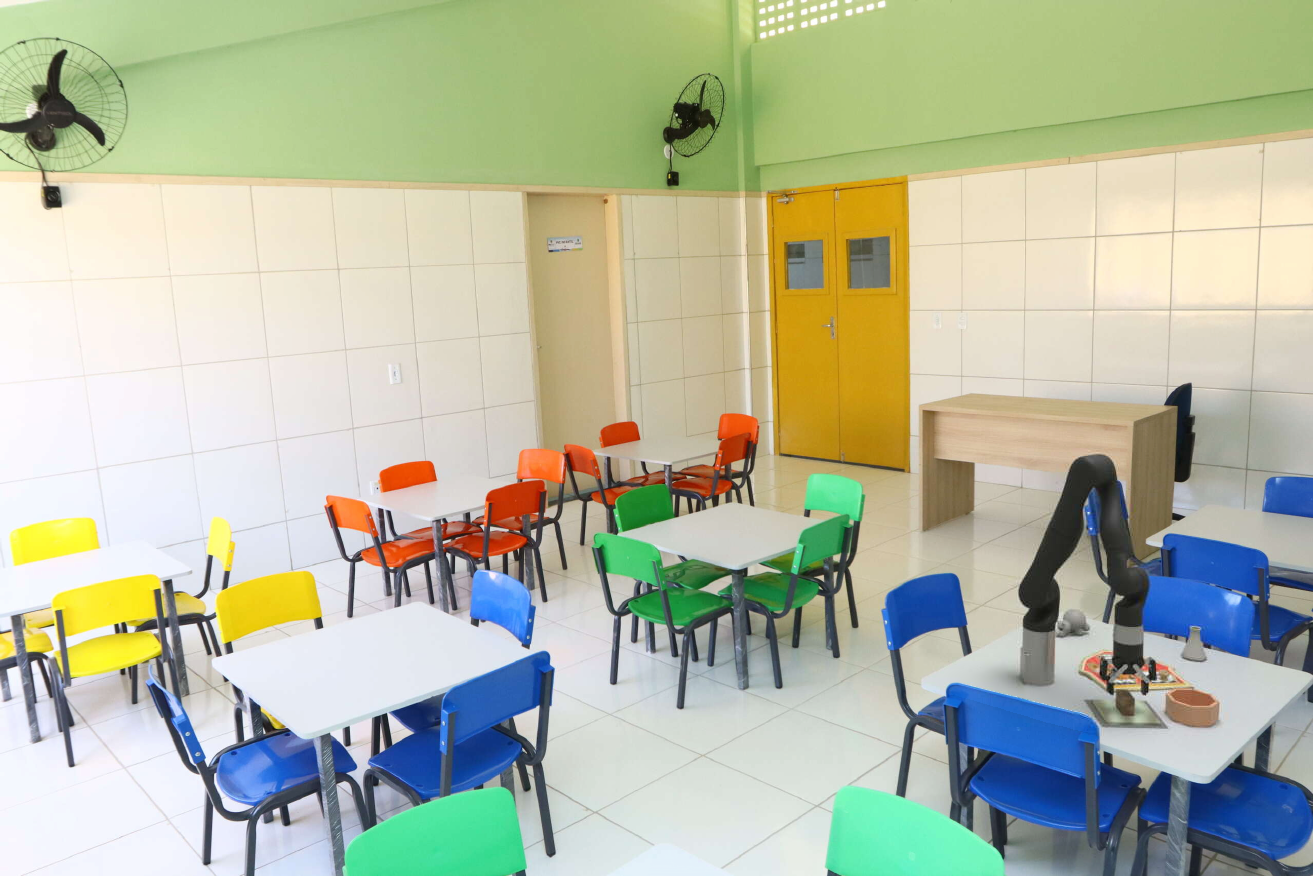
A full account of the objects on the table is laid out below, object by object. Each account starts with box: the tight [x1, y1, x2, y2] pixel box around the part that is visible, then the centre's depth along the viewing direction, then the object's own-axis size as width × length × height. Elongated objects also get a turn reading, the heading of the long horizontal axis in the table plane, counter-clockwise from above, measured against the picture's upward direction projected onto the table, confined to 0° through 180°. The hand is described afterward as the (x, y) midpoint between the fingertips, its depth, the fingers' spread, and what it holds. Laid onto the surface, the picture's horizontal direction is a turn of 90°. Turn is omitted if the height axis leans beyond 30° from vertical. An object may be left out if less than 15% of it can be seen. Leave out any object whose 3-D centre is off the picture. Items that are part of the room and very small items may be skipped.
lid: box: [1090, 689, 1161, 726], centre depth 262 cm, size 14×14×6 cm
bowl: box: [1164, 688, 1220, 728], centre depth 258 cm, size 12×12×6 cm
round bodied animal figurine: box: [1055, 608, 1091, 638], centre depth 321 cm, size 7×12×8 cm, turn 106°
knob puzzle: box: [1078, 649, 1195, 694], centre depth 290 cm, size 29×30×4 cm
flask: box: [1180, 625, 1208, 662], centre depth 297 cm, size 7×7×10 cm
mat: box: [1083, 699, 1169, 730], centre depth 262 cm, size 17×17×1 cm
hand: (1127, 694), depth 261 cm, fingers open, 8 cm apart
